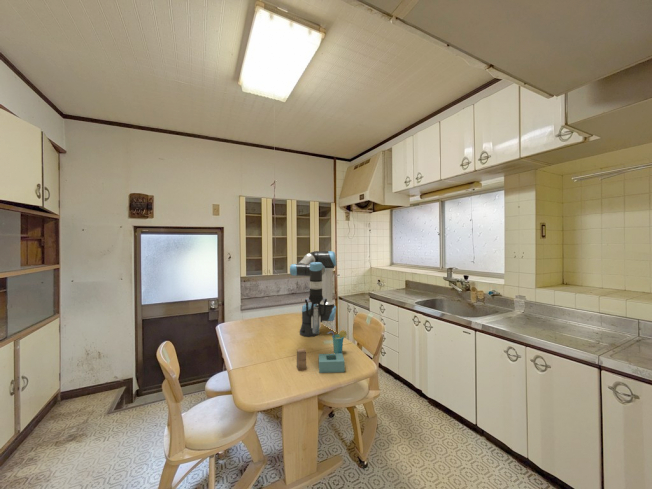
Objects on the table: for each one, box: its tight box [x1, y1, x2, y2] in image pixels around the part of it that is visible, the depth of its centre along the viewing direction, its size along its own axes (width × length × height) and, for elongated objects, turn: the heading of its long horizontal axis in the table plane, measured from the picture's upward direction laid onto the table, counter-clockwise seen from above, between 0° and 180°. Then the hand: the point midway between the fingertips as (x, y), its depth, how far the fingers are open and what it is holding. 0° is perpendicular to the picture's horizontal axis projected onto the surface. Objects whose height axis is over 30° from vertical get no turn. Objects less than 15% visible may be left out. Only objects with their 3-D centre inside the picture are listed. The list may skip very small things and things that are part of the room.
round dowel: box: [313, 307, 320, 335], centre depth 150 cm, size 4×4×15 cm
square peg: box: [296, 348, 307, 371], centre depth 143 cm, size 4×4×10 cm
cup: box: [326, 330, 348, 354], centre depth 163 cm, size 14×8×15 cm, turn 119°
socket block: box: [318, 352, 346, 374], centre depth 143 cm, size 10×14×6 cm
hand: (315, 327), depth 150 cm, fingers closed on round dowel, 4 cm apart
